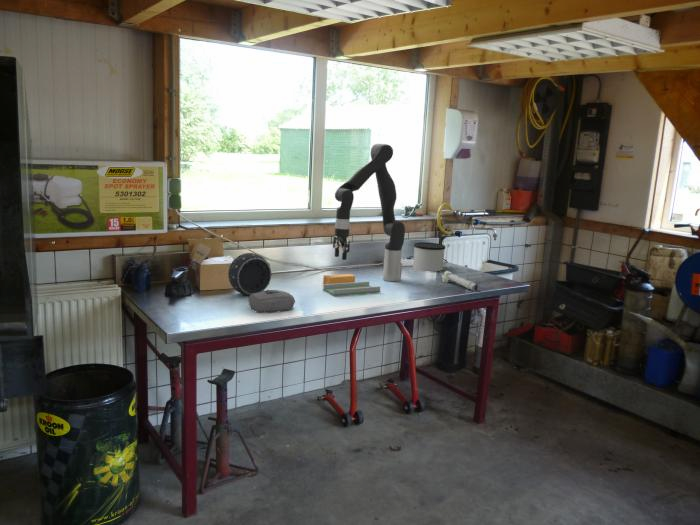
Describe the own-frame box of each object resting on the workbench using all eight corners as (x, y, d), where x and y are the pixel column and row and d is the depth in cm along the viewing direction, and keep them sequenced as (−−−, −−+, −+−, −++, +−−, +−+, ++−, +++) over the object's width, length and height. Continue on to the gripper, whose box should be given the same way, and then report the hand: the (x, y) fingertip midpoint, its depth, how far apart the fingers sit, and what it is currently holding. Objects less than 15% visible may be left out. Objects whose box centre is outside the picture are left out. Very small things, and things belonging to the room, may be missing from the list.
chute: (349, 282, 319) (350, 273, 318) (355, 285, 314) (355, 276, 313) (323, 284, 311) (323, 275, 310) (327, 287, 306) (328, 277, 305)
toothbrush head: (472, 284, 314) (441, 268, 333) (470, 296, 316) (439, 279, 335) (479, 283, 316) (448, 268, 336) (477, 295, 319) (446, 279, 338)
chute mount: (367, 286, 312) (368, 281, 312) (380, 292, 301) (380, 286, 300) (322, 289, 300) (323, 284, 299) (334, 296, 289) (334, 290, 288)
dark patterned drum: (273, 295, 285) (274, 254, 281) (235, 299, 273) (235, 257, 270) (263, 289, 294) (264, 250, 290) (225, 294, 282) (225, 252, 278)
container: (436, 273, 354) (438, 248, 351) (407, 268, 363) (409, 244, 360) (447, 268, 370) (449, 245, 367) (420, 264, 379) (421, 241, 376)
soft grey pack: (257, 315, 252) (300, 311, 262) (257, 296, 250) (301, 292, 260) (245, 306, 265) (286, 302, 274) (245, 287, 263) (287, 284, 273)
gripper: (355, 229, 302) (353, 260, 305) (342, 225, 314) (340, 255, 318) (342, 229, 299) (340, 261, 302) (329, 225, 311) (327, 255, 314)
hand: (340, 258), depth 310 cm, fingers open, 8 cm apart
